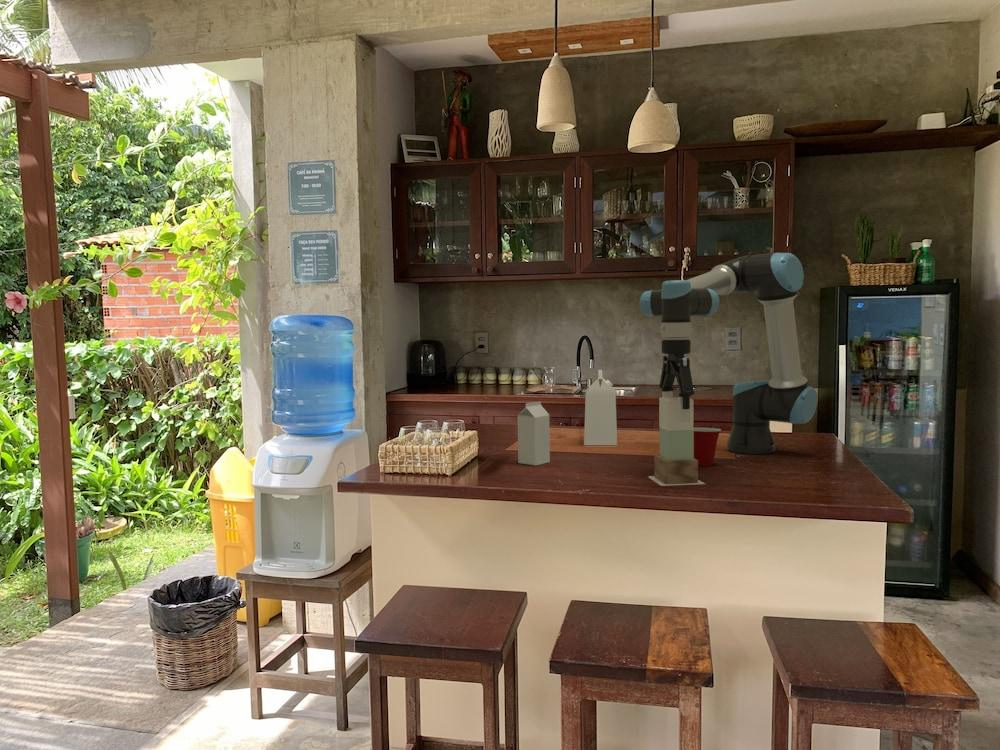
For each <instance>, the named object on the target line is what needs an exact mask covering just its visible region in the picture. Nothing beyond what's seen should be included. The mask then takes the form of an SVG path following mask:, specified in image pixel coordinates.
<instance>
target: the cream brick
mask: <svg viewBox="0 0 1000 750" xmlns="http://www.w3.org/2000/svg"><path fill="white" fill-rule="evenodd" d="M658 399H659V401H658V403H659V404H658V405H659V406H658V407H659V411H658V421H659V423H658V425H659V426H658V427H659V429H660V428H663V429H665V430H667V431H675V430H693V428H694V403H695V402H694V399H692V398H690V422H679V397H678V396H676V397H674V396H673V397H667V398H662V397H659V398H658Z"/></svg>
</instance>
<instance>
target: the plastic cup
mask: <svg viewBox="0 0 1000 750" xmlns="http://www.w3.org/2000/svg"><path fill="white" fill-rule="evenodd" d="M693 430H694V459H696V460H698V467H711V466H714V464H713V463H714V458H715V454H716V450H717V443H718V440H719V437H720V433H721V431H722V429H721V428H717V427H693Z"/></svg>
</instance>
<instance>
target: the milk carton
mask: <svg viewBox="0 0 1000 750" xmlns="http://www.w3.org/2000/svg"><path fill="white" fill-rule="evenodd" d="M550 438H551V437H550V414H549V413H548V411H547V410H546V409H545V408H544V407H543V405H542V401H534V402H533V401H532V402H526V403H525V407H524V408H523V409H522V410H521V411H520V412H519V413H518V414H517V463H518V464H523V465H529V466H541V465H544V464H548V463H550V462H551V448H550V446H551V443H550V441H551V440H550Z"/></svg>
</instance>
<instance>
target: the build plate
mask: <svg viewBox="0 0 1000 750" xmlns="http://www.w3.org/2000/svg"><path fill="white" fill-rule="evenodd" d="M647 478H649V479H650V480H652V481H653V482H655V483H656V484H657V485H659V486H661V487H667V486H668V487H669V486H671V487H673V486H688V485H690V486H691V485H706V483H705V482H703V481H701V480H700V479H698V483H684V484H664V483H662V482H661V481H659V480H658V479H656V478H655V477H654V475H650V476H647Z"/></svg>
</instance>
